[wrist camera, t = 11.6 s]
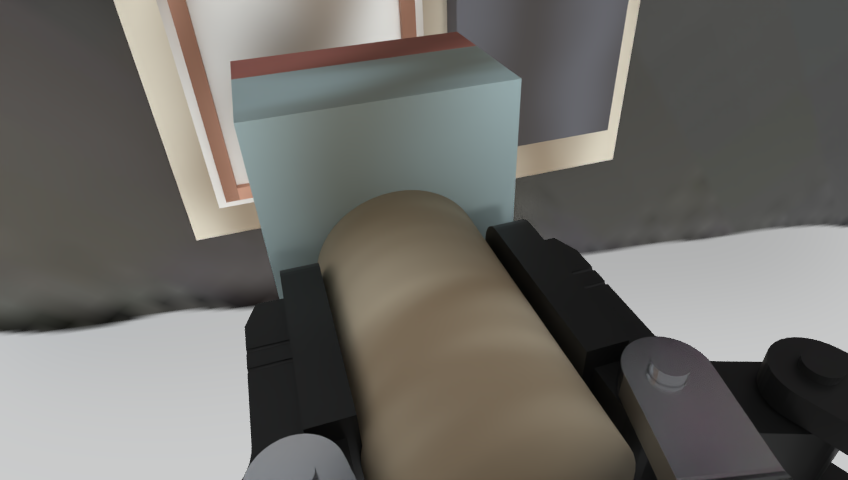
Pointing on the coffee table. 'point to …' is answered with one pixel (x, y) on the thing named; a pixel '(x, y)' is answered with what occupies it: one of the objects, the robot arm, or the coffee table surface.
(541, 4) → the stamping board
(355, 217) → the rubber stamp
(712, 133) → the coffee table surface
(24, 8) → the coffee table surface
